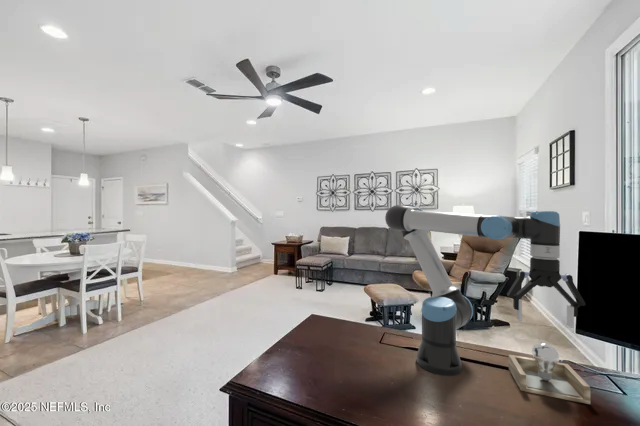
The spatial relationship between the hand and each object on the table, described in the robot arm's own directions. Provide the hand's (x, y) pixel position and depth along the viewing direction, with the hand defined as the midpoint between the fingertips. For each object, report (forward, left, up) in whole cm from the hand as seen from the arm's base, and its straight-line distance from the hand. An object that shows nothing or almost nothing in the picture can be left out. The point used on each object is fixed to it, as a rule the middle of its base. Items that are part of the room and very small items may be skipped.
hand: (543, 323), depth 90 cm
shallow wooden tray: (0, 0, -20) cm, 20 cm away
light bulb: (0, 0, -19) cm, 19 cm away
